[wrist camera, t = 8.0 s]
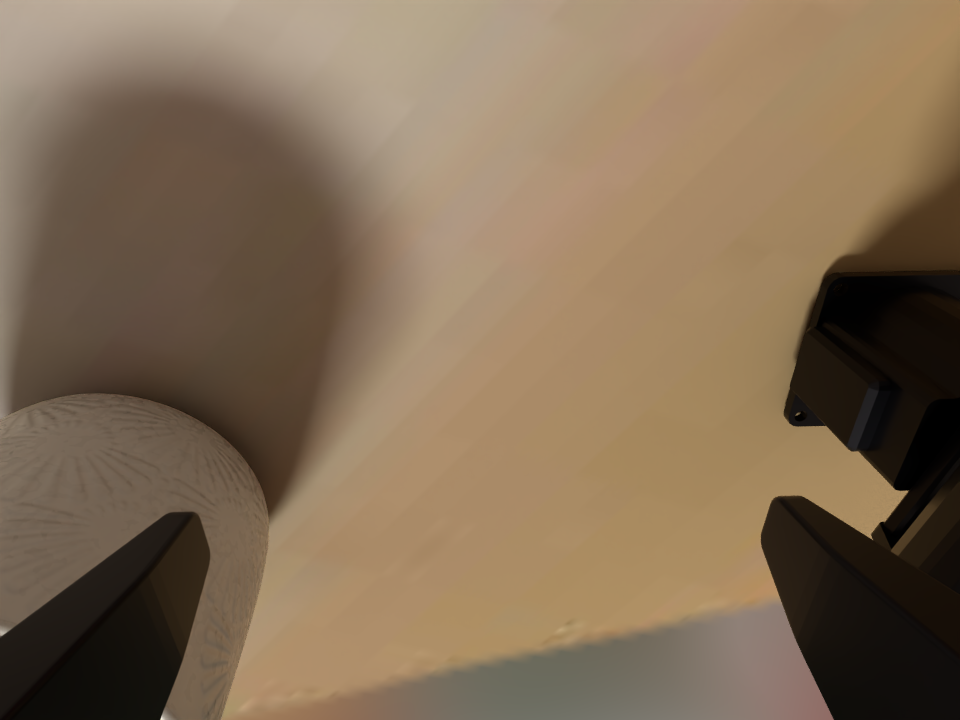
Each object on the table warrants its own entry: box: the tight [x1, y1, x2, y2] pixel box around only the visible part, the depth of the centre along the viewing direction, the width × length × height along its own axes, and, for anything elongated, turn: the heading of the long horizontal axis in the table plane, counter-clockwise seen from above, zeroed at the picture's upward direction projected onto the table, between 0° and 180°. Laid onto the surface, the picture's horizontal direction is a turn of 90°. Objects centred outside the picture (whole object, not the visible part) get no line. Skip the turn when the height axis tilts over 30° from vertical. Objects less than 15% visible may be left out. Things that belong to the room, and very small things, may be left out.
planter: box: [0, 393, 269, 720], centre depth 20 cm, size 12×12×11 cm
